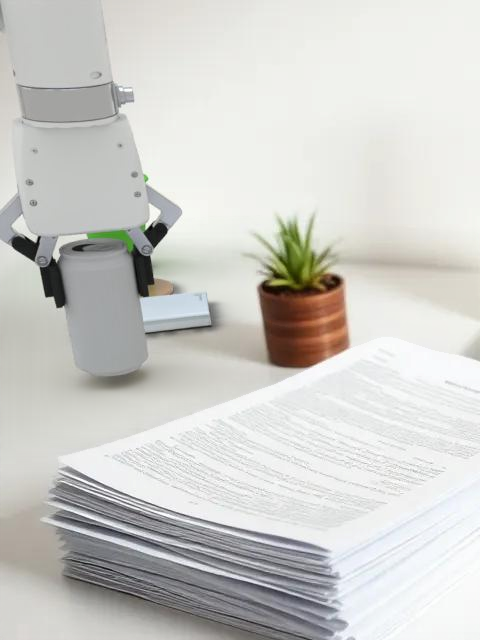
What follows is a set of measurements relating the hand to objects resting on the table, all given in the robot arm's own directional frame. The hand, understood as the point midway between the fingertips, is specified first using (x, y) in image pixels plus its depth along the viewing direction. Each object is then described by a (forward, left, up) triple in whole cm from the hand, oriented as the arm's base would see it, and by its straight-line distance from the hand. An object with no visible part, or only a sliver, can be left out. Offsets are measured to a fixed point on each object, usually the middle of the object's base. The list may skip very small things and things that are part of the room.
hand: (101, 296), depth 105 cm
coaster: (-6, +25, -8) cm, 27 cm away
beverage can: (0, 0, -7) cm, 7 cm away
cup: (-10, +35, -8) cm, 37 cm away
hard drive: (-1, +16, -9) cm, 18 cm away
